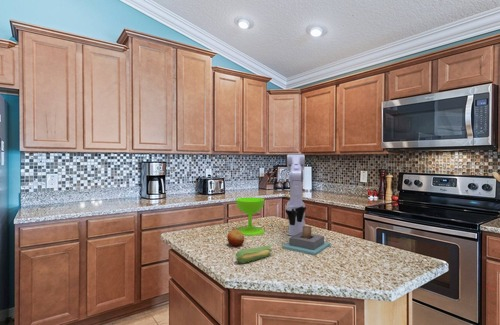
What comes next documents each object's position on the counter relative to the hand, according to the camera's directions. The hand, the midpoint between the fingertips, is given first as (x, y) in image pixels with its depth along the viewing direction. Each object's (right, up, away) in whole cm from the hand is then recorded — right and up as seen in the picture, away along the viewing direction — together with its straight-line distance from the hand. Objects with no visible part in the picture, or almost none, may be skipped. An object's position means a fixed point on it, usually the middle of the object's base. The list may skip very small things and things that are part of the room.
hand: (295, 223), depth 138 cm
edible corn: (-19, -10, -21) cm, 30 cm away
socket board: (+4, -10, -5) cm, 12 cm away
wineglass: (-22, -10, +22) cm, 33 cm away
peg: (+4, -9, -5) cm, 11 cm away
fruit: (-29, -10, -3) cm, 31 cm away
